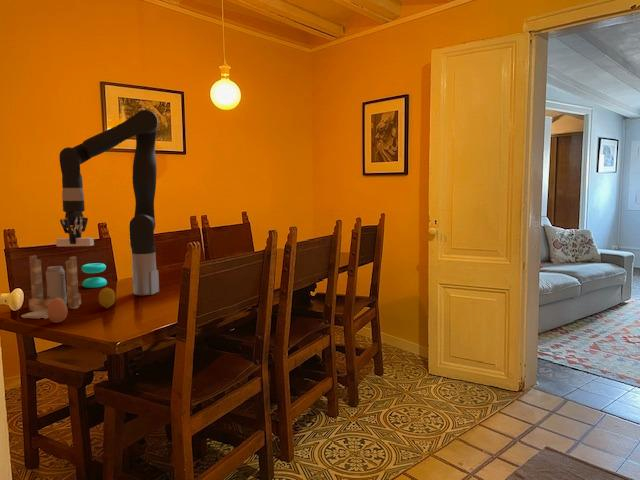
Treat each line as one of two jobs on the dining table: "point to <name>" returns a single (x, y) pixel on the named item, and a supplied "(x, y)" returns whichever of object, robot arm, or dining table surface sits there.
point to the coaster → (36, 314)
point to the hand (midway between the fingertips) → (75, 243)
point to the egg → (57, 310)
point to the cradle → (37, 287)
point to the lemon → (106, 297)
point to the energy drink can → (56, 283)
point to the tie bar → (78, 242)
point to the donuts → (95, 281)
